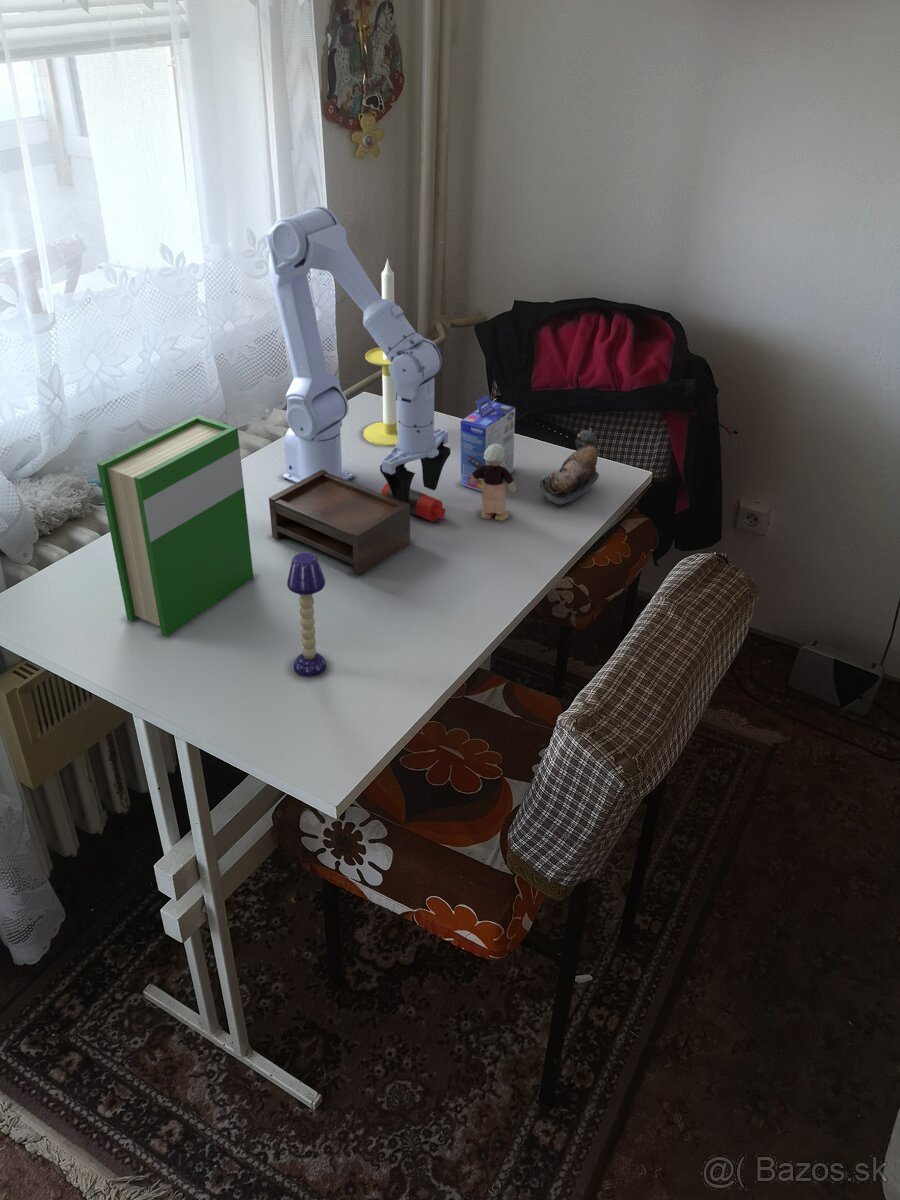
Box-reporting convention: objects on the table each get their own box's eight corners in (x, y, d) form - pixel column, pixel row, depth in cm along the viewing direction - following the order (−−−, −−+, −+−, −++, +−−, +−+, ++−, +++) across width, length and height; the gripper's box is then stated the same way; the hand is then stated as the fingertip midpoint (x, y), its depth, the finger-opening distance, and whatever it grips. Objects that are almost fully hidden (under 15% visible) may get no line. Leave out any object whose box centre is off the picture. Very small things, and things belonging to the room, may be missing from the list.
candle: (398, 450, 186) (396, 270, 168) (352, 437, 190) (345, 260, 172) (427, 430, 193) (428, 255, 175) (382, 418, 198) (379, 246, 179)
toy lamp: (294, 655, 136) (285, 548, 127) (330, 654, 137) (323, 547, 127) (293, 678, 132) (284, 569, 123) (329, 676, 133) (323, 568, 123)
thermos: (385, 506, 171) (377, 495, 168) (397, 489, 172) (389, 477, 169) (439, 528, 166) (432, 516, 162) (451, 510, 166) (444, 497, 163)
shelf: (272, 537, 161) (268, 497, 157) (324, 507, 169) (322, 469, 165) (359, 576, 152) (358, 535, 148) (410, 543, 160) (410, 503, 156)
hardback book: (166, 637, 139) (139, 479, 125) (127, 619, 142) (96, 463, 129) (253, 577, 151) (237, 427, 138) (215, 562, 155) (196, 414, 141)
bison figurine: (566, 514, 169) (571, 459, 163) (530, 500, 172) (534, 446, 166) (603, 487, 176) (610, 433, 171) (568, 474, 180) (574, 422, 174)
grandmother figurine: (515, 511, 169) (519, 440, 162) (514, 522, 166) (518, 451, 159) (468, 508, 170) (471, 437, 162) (466, 519, 167) (469, 448, 159)
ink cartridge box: (487, 463, 183) (490, 386, 175) (514, 471, 181) (519, 394, 172) (457, 485, 176) (459, 406, 168) (485, 494, 174) (488, 414, 165)
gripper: (406, 443, 153) (407, 522, 161) (464, 411, 163) (461, 487, 171) (370, 430, 157) (372, 508, 164) (428, 399, 166) (428, 474, 174)
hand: (415, 496), depth 168 cm, fingers open, 7 cm apart
